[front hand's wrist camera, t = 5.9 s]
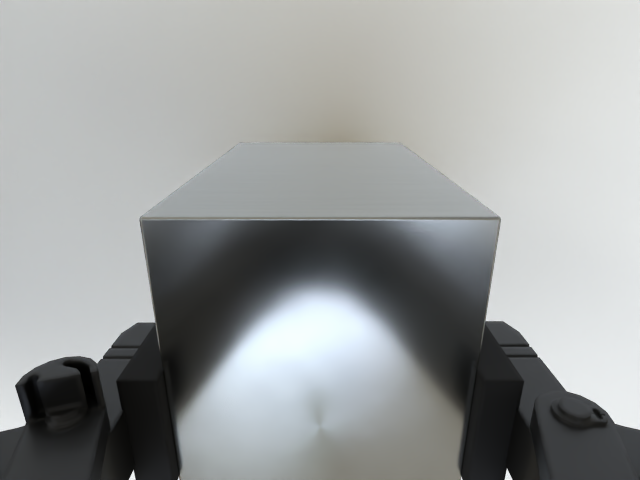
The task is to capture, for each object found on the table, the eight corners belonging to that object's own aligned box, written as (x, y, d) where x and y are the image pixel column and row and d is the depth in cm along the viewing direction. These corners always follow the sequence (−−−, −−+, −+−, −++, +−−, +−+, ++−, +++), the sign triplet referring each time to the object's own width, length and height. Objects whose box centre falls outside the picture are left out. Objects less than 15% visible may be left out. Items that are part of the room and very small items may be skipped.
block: (252, 343, 19) (192, 572, 10) (239, 142, 16) (137, 217, 7) (387, 343, 19) (447, 572, 10) (400, 142, 16) (502, 217, 7)
